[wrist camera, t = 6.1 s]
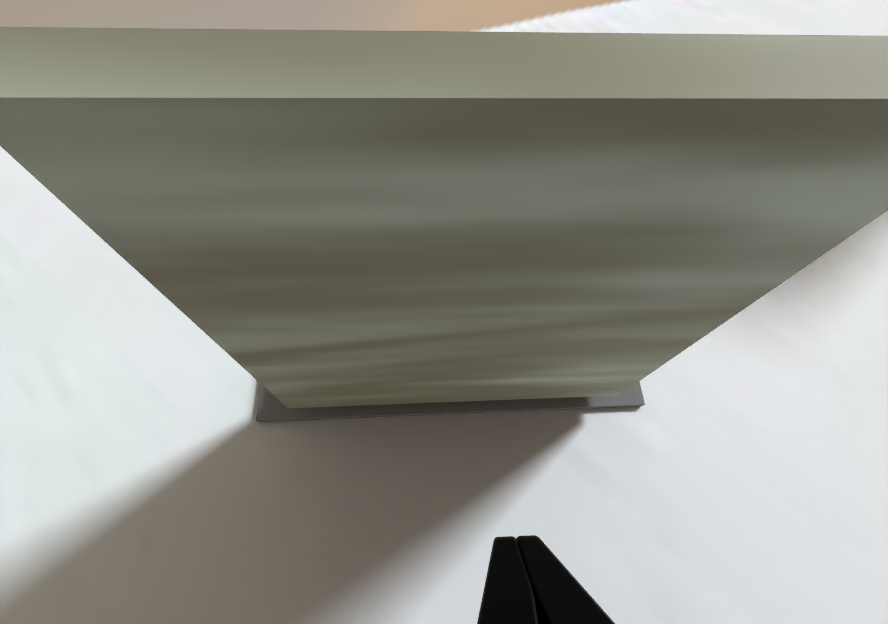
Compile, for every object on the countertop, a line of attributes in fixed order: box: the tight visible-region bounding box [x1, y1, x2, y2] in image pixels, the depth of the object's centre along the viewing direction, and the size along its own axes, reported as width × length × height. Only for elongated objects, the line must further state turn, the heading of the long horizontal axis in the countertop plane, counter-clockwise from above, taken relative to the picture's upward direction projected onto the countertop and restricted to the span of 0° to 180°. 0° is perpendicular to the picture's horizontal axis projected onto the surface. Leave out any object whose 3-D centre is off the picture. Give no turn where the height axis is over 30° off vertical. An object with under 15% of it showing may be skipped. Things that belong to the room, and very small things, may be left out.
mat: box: [256, 381, 645, 422], centre depth 22 cm, size 14×16×1 cm
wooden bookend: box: [0, 27, 888, 408], centre depth 14 cm, size 10×13×15 cm
